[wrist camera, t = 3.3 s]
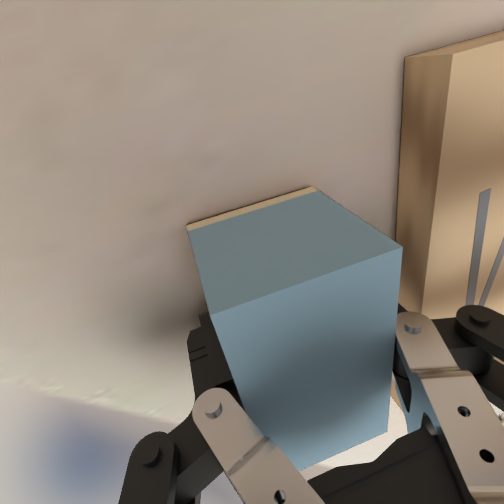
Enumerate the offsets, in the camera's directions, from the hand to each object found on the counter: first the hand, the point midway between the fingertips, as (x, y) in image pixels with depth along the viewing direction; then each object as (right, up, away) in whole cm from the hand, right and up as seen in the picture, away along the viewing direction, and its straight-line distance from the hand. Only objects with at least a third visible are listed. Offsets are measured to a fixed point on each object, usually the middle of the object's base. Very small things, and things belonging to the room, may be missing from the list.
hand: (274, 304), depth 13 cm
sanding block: (0, 0, 0) cm, 1 cm away
